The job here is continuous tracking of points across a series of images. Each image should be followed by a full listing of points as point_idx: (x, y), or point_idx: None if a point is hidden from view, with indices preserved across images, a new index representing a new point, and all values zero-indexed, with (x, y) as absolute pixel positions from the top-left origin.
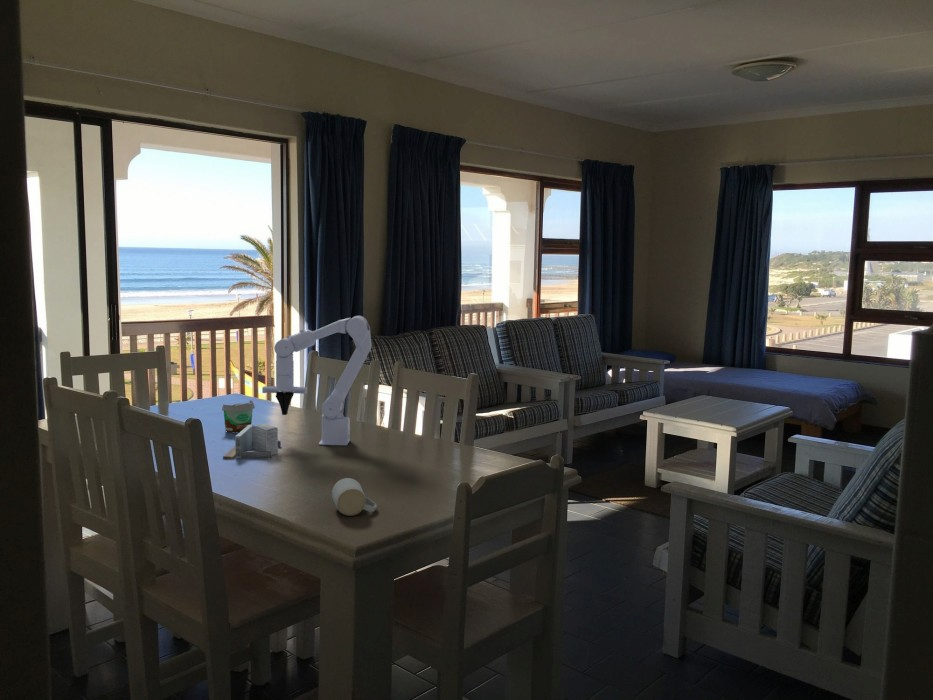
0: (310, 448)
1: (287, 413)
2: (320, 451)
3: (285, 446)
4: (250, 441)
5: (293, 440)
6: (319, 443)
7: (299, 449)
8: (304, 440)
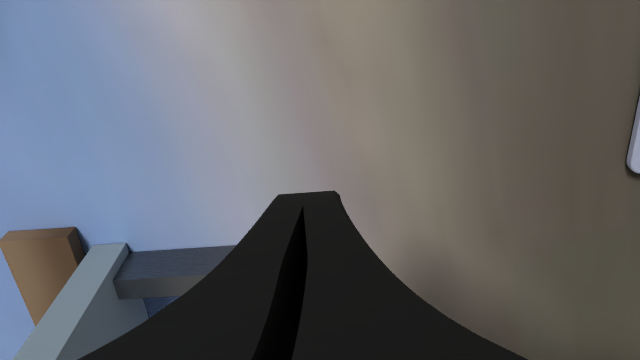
0: (558, 253)
1: (340, 199)
2: (632, 310)
3: (363, 229)
4: None
5: (380, 34)
6: (636, 171)
7: (481, 286)
8: (483, 17)
